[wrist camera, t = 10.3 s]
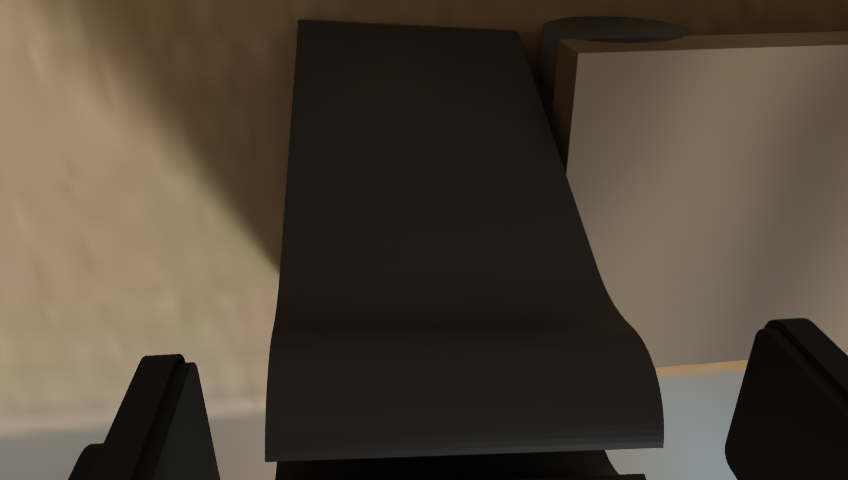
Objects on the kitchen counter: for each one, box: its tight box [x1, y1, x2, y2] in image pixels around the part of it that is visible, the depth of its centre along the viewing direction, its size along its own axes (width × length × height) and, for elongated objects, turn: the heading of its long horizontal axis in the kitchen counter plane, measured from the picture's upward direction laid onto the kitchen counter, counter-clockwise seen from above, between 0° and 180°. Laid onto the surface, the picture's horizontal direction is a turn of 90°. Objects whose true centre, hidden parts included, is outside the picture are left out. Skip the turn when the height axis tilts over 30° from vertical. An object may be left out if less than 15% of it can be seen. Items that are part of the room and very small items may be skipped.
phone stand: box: [265, 20, 664, 480], centre depth 15 cm, size 9×6×12 cm, turn 176°
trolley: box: [539, 16, 848, 367], centre depth 20 cm, size 14×9×4 cm, turn 90°
